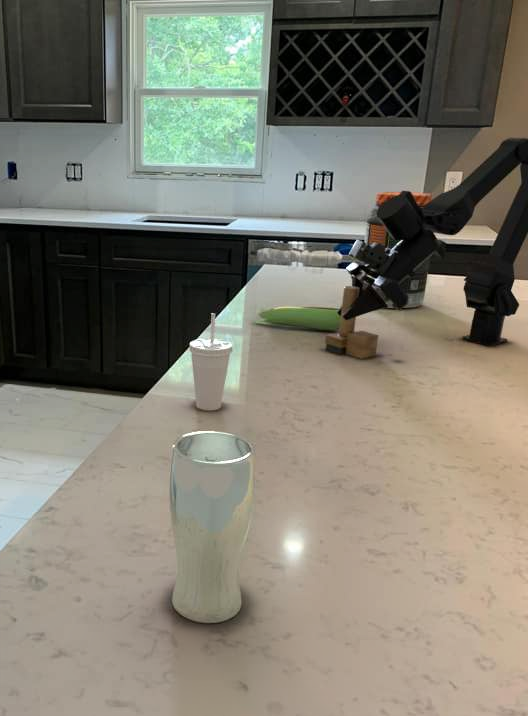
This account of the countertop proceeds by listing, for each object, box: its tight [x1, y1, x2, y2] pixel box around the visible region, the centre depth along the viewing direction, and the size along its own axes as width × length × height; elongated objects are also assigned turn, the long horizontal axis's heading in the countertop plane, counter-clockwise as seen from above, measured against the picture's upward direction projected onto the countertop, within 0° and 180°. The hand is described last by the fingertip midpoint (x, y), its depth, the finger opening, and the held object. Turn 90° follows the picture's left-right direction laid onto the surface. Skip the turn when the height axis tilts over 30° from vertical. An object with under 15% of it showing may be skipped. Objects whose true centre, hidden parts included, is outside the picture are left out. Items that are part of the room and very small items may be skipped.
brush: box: [324, 285, 360, 356], centre depth 139 cm, size 7×4×12 cm, turn 126°
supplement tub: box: [361, 191, 435, 309], centre depth 176 cm, size 16×16×26 cm
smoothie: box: [188, 312, 234, 411], centre depth 108 cm, size 6×6×14 cm
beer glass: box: [168, 430, 256, 624], centre depth 61 cm, size 7×7×15 cm
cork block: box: [345, 330, 379, 360], centre depth 137 cm, size 4×4×4 cm
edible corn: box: [253, 306, 341, 332], centre depth 156 cm, size 5×20×5 cm, turn 74°
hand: (341, 316), depth 138 cm, fingers closed on brush, 3 cm apart
